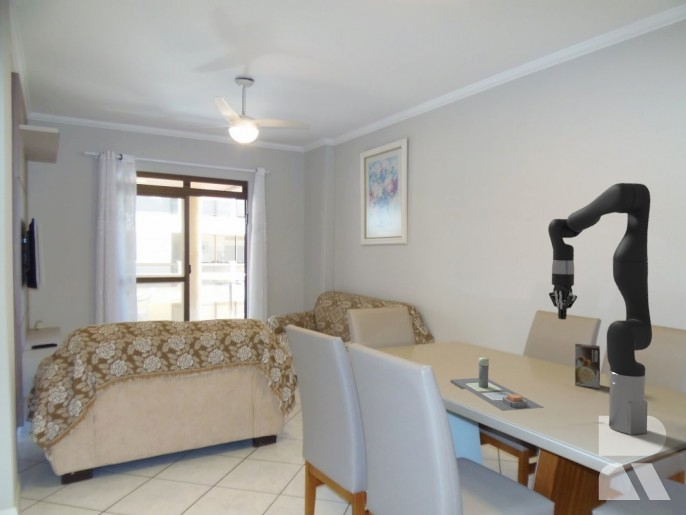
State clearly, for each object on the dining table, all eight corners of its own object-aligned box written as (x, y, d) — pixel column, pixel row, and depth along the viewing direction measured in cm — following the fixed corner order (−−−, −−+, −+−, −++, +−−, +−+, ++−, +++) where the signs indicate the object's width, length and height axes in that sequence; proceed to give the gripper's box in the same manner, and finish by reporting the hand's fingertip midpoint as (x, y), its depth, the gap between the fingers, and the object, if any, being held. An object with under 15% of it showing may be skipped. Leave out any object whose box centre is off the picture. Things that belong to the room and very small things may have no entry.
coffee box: (599, 384, 192) (600, 345, 192) (600, 388, 187) (600, 348, 187) (574, 381, 197) (575, 343, 196) (574, 385, 191) (574, 345, 191)
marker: (490, 387, 183) (490, 359, 183) (481, 388, 182) (481, 359, 182) (485, 385, 187) (485, 357, 186) (476, 385, 186) (476, 357, 185)
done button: (522, 404, 162) (522, 397, 162) (513, 404, 162) (513, 397, 162) (516, 400, 166) (516, 394, 166) (507, 401, 165) (507, 394, 165)
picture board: (544, 410, 161) (544, 402, 161) (502, 413, 157) (502, 405, 157) (485, 380, 198) (485, 373, 198) (450, 382, 194) (450, 375, 194)
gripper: (584, 273, 170) (583, 321, 170) (559, 271, 183) (558, 316, 183) (566, 273, 168) (565, 322, 168) (542, 271, 181) (541, 316, 181)
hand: (562, 319), depth 176 cm, fingers closed
